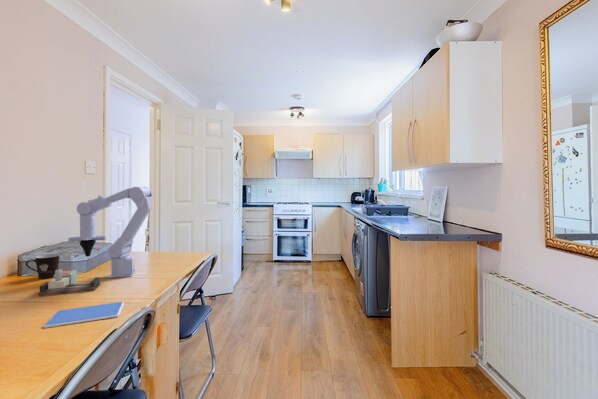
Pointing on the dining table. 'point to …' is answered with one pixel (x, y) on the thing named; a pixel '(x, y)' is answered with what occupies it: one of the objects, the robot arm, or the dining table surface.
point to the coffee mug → (46, 265)
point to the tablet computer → (84, 314)
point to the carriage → (58, 281)
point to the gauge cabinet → (70, 277)
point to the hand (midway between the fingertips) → (88, 256)
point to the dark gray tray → (69, 288)
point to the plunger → (66, 272)
